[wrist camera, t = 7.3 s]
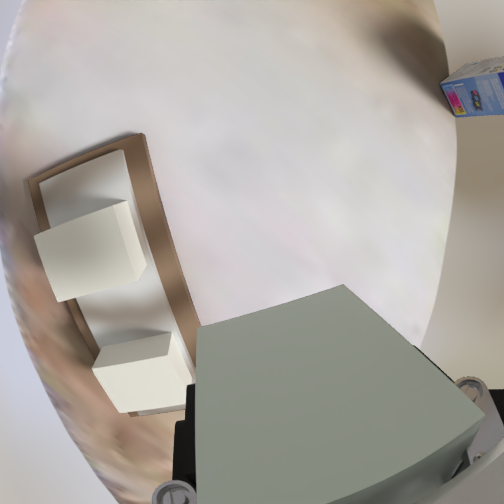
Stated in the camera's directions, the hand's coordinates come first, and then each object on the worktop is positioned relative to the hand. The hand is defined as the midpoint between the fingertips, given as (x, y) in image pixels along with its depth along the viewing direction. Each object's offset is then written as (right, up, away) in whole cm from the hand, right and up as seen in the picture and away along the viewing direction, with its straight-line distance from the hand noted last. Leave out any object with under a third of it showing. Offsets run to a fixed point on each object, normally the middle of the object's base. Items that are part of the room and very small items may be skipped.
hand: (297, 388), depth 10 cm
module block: (0, +1, +2) cm, 2 cm away
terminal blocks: (-14, -1, +16) cm, 21 cm away
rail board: (-14, 0, +18) cm, 23 cm away
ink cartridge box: (+27, +27, +18) cm, 42 cm away
